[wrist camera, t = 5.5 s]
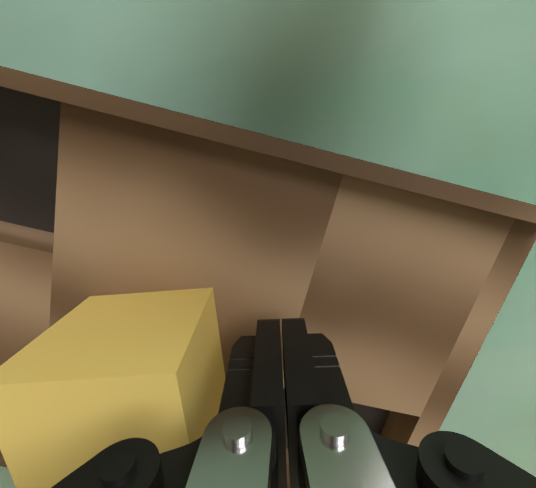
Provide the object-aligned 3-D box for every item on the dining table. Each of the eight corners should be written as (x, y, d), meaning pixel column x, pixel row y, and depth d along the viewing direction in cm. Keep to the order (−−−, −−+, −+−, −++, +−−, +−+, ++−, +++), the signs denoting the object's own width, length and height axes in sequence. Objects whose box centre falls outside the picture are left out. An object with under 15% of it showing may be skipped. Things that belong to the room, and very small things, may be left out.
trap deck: (-256, 5, 10) (-635, -105, 6) (505, 202, 12) (638, 228, 8) (-186, 358, 14) (-385, 447, 10) (380, 471, 16) (421, 588, 12)
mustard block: (89, 296, 11) (-27, 386, 7) (212, 287, 11) (175, 373, 7) (116, 397, 12) (33, 529, 8) (227, 391, 12) (204, 520, 8)
